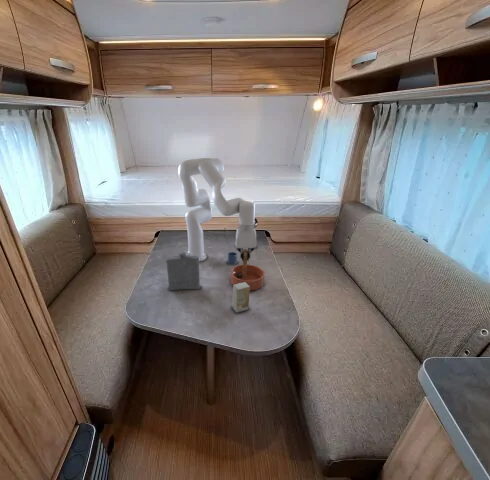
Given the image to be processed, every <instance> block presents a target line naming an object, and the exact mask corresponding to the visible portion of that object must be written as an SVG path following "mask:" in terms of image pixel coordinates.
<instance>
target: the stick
mask: <svg viewBox="0 0 490 480" xmlns="http://www.w3.org/2000/svg"><path fill="white" fill-rule="evenodd" d="M243 253H244V260H243V261H242V265H243V270H242V276H243V278H246V277H247V264H248V260H247V254H248V248H243Z"/></svg>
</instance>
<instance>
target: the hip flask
mask: <svg viewBox="0 0 490 480" xmlns="http://www.w3.org/2000/svg"><path fill="white" fill-rule="evenodd" d="M165 261H166V271H167V273H166V274H167V282H168V283H167V284H168V290H169V291H176V290H199V289H200V288H201V283H200V281H201V280H200V261H199V257H198V256H188V255H186V252H184V250H182V251H179V252H178V255H174V256H173V255H172V256H167V257H165Z"/></svg>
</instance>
